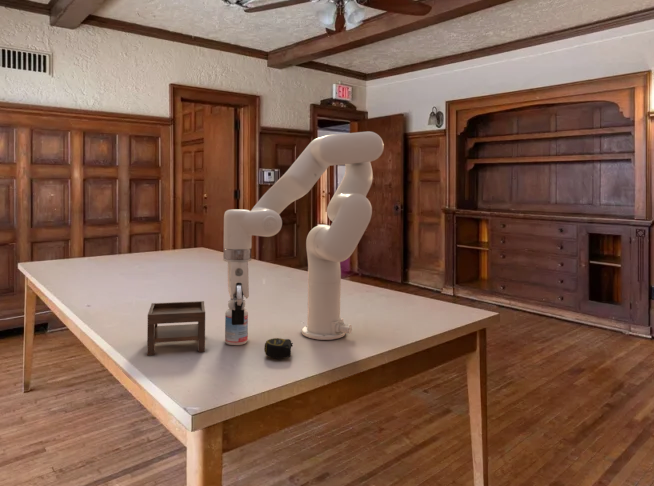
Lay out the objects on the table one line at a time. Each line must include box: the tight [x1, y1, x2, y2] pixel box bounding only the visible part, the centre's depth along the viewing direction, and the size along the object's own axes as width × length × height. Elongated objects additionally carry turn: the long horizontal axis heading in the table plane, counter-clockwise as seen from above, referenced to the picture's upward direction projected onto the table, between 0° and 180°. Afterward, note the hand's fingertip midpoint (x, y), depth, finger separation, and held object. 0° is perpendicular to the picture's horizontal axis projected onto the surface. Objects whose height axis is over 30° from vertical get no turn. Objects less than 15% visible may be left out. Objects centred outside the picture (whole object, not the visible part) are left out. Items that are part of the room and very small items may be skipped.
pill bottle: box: [224, 299, 249, 346], centre depth 126 cm, size 6×6×11 cm
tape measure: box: [263, 337, 294, 359], centre depth 116 cm, size 7×7×4 cm
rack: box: [146, 300, 206, 356], centre depth 122 cm, size 14×12×10 cm
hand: (236, 320), depth 126 cm, fingers closed on pill bottle, 6 cm apart
